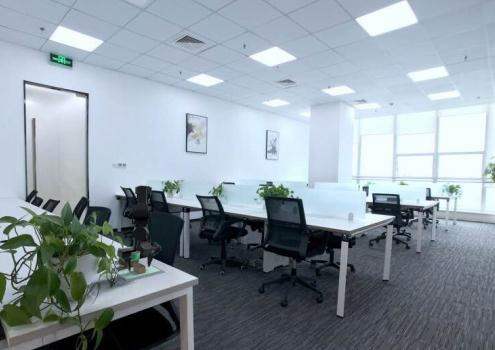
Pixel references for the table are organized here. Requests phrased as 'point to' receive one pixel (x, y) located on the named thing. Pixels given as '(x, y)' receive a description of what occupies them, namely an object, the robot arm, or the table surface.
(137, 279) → the mat
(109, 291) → the table surface
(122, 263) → the food container
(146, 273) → the lid
